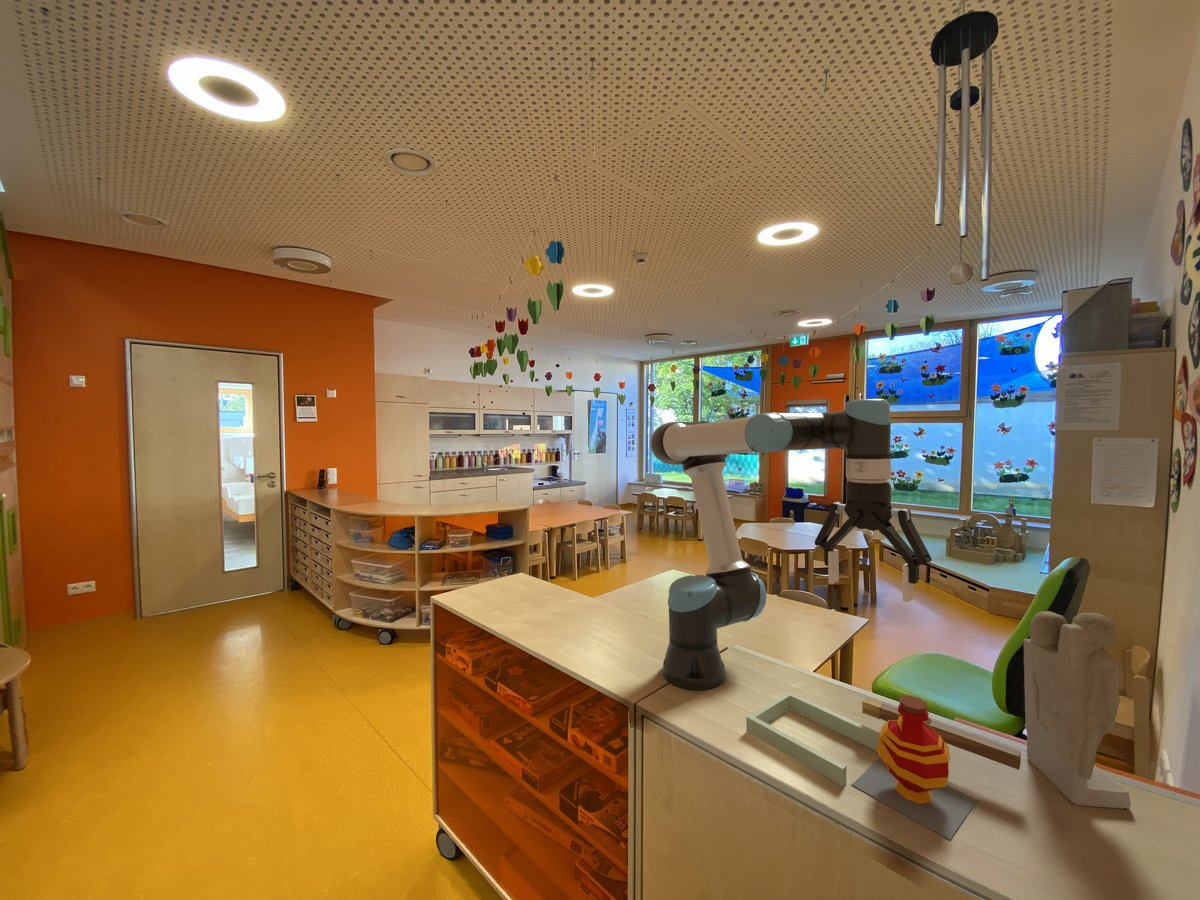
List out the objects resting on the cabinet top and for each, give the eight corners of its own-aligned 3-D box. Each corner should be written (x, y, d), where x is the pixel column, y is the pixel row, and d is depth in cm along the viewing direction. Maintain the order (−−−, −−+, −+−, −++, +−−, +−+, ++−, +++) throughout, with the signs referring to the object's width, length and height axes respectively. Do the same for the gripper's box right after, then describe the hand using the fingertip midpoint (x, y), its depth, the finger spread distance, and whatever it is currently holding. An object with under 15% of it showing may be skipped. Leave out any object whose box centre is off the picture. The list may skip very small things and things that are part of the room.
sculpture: (1148, 825, 71) (1150, 626, 70) (1083, 817, 73) (1085, 623, 72) (1071, 758, 86) (1073, 592, 85) (1019, 753, 88) (1019, 590, 87)
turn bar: (1018, 773, 76) (1018, 759, 76) (860, 715, 93) (860, 702, 92) (1021, 761, 79) (1021, 747, 79) (867, 706, 95) (867, 694, 95)
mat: (851, 785, 81) (851, 784, 81) (883, 755, 88) (883, 754, 88) (950, 840, 70) (950, 839, 70) (977, 800, 77) (977, 799, 77)
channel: (746, 731, 96) (746, 716, 96) (788, 704, 105) (788, 691, 105) (842, 786, 81) (842, 769, 81) (882, 749, 90) (882, 733, 89)
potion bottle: (895, 761, 86) (895, 679, 86) (963, 797, 77) (963, 706, 77) (863, 785, 81) (863, 698, 80) (932, 827, 72) (932, 729, 71)
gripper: (796, 478, 99) (797, 579, 100) (936, 487, 79) (936, 614, 80) (815, 475, 104) (816, 572, 105) (952, 483, 84) (952, 603, 85)
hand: (868, 590), depth 92 cm, fingers open, 13 cm apart
